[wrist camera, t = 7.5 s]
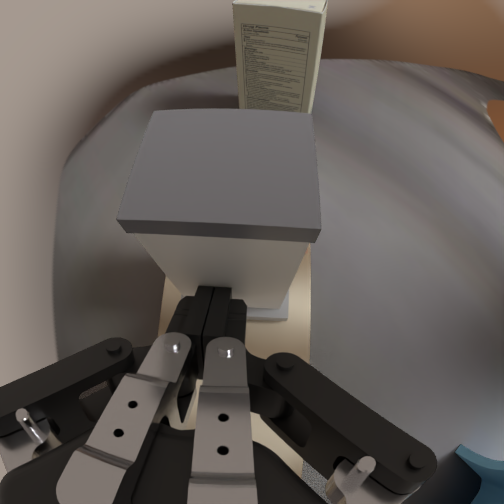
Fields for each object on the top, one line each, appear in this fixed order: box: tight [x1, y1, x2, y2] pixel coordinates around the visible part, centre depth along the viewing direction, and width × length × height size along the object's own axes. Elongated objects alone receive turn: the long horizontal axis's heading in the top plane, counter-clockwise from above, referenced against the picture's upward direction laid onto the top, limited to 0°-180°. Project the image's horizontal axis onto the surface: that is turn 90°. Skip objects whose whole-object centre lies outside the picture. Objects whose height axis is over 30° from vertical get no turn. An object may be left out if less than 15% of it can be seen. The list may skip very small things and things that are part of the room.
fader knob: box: [116, 109, 321, 321], centre depth 13 cm, size 5×6×11 cm
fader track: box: [158, 243, 311, 478], centre depth 17 cm, size 24×9×4 cm, turn 177°
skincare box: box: [232, 0, 328, 114], centre depth 20 cm, size 6×4×12 cm
